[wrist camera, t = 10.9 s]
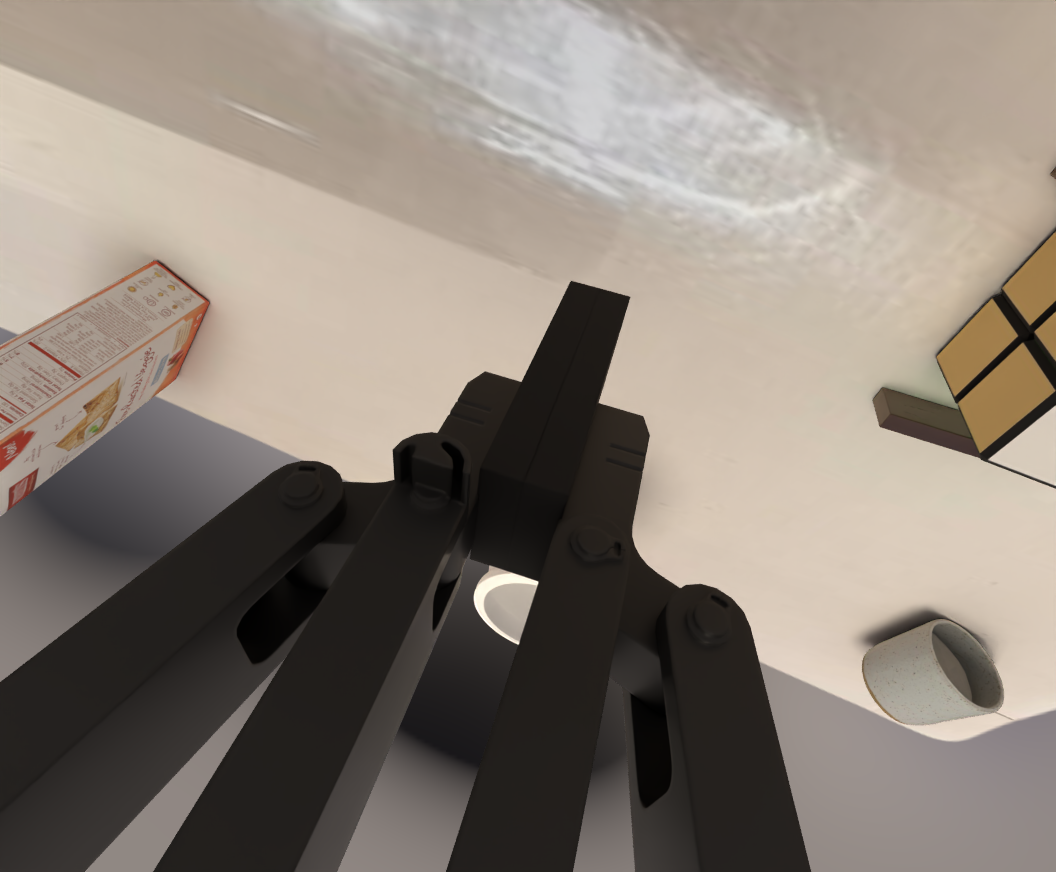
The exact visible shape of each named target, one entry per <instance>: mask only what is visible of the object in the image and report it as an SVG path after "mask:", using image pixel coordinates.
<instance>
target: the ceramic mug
mask: <svg viewBox="0 0 1056 872" xmlns="http://www.w3.org/2000/svg"><path fill="white" fill-rule="evenodd" d="M862 672H863V678H864V681H865V684H866V687H867V689H868V691H869V693H870V694H871V696H872V698H873V699H874V701H875V702H876V703H877V704H878V706H879V707H880V708H881V709H882V710H883V711H884V712H885V713H886V714H887V715H889V716H890V717H891V718H893V719H894V720H896V721H898V722H900V723H903V724H907V725H929V724H936V723H939V722H944V721H950V720H956V719H962V718H967V717H973V716H979V715H985V714H990V713H994V712H996V711H998V710H999V709H1000V707H1001V706H1002V704H1003V700H1004V689H1003V685H1002V681H1001V678H1000V676H999V673H998V671H997V669H996V667H995V665H994V663H993V661H992V660H991V658H990V657H989V655H988V654H987V653H986V651H985V650H984V648H983V647H982V646H981V645H980V644H979V642H978V641H977V640H976V639H975V638H974V637H973V636H972V635H971V634H969V633H968V632H967V631H966V630H965V629H963V628H962V627H960V626H959V625H957V624H955V623H953V622H951V621H949V620H944V619H937V620H933V621H931V622H928V623H926V624H924V625H922V626H919V627H917V628H914V629H912V630H909V631H907V632H905V633H903V634H900V635H898V636H896V637H893V638H891V639H888V640H886V641H883V642H881V643H879V644H877V645H875V646H874V647H872V648H871V649H870V650H869V651H868V652H867V653H866V654H865V656H864V658H863V661H862Z"/></svg>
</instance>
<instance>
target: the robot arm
mask: <svg viewBox="0 0 1056 872" xmlns="http://www.w3.org/2000/svg"><path fill="white" fill-rule="evenodd" d="M629 300H630V297H629V296H625V295H622V294H618V293H614V292H611V291H607V290H603V289H600V288H596V287H592V286H588V285H585V284H581V283H577V282H574V281H571V282H570V284H569V286H568V288H567V290H566V292H565V294H564V296H563V298H562V300H561V302H560V304H559V306H558V308H557V310H556V313H555V315H554V317H553V319H552V321H551V323H550V325H549V327H548V329H547V331H546V333H545V335H544V337H543V339H542V341H541V343H540V345H539V347H538V349H537V352H536V354H535V356H534V358H533V360H532V362H531V364H530V366H529V368H528V370H527V372H526V374H525V376H524V378H523V380H522V382H519V381H516V380H512V379H509V378H506V377H502V376H499V375H495V374H492V373H489V372H484V373H482V374H481V375H479V376H478V377H476V378H475V379H473V380H471V381H470V382H468V383H467V385H466V387H465V388H464V390H463V392H462V393H461V395H460V397H459V398H458V402H456V403H455V405H454V407H453V408H452V410H451V412H450V415H448V417H447V418H446V420H445V422H444V423H443V425H442V427H441V428H440V430H439V432H438V433H433V432H430V433H422V434H415V435H413V436H411V437H409V438H406V439H404V440H402V441H401V442H400V443H399V444H398V445H397V446H396V447H395V448H394V449H393V463H394V480H392V481H388V482H380V483H361V482H342V479H341V476H340V474H339V473H338V472H337V471H336V470H335V469H333V468H332V467H331V466H329V465H326V464H324V463H321V462H318V461H300V462H295V463H291V464H287V465H285V466H283V467H281V468H280V469H278V470H276V471H274V472H272V473H271V474H270V475H269V476H267V477H266V478H265V479H263V480H262V481H261V482H259V483H258V484H257V485H255V486H254V487H253V488H252V489H250V490H249V491H248V492H246V493H245V494H244V495H243V496H241V497H240V498H239V499H238V500H236V501H235V502H233V503H232V504H231V505H230V506H228V507H227V508H226V509H224V510H223V511H222V512H220V513H219V514H218V515H217V516H215V517H214V518H213V519H211V520H210V521H209V522H207V523H206V524H205V525H204V526H202V527H201V528H200V529H198V530H197V531H196V532H195V533H193V534H192V535H191V536H189V537H188V538H187V539H186V540H184V541H183V542H181V543H180V544H179V545H178V546H176V547H175V548H174V549H172V550H171V551H170V552H169V553H167V554H166V555H165V556H163V557H162V558H161V559H160V560H158V561H157V562H156V563H154V564H153V565H152V566H150V567H149V568H148V569H147V570H145V571H144V572H143V573H141V574H140V575H139V576H137V577H136V578H135V579H133V580H132V581H131V582H130V583H128V584H127V585H126V586H125V587H123V588H122V589H120V590H119V591H118V592H117V593H115V594H114V595H113V596H112V597H110V598H109V599H108V600H106V601H105V602H104V603H102V604H101V605H100V606H99V607H97V608H96V609H95V610H93V611H92V612H91V613H89V614H88V615H87V616H85V617H84V618H83V619H82V620H80V621H79V622H78V623H76V624H75V625H74V626H73V627H71V628H70V629H69V630H67V631H66V632H65V633H63V634H62V635H61V636H60V637H58V638H57V639H56V640H54V641H53V642H52V643H51V644H49V645H48V646H47V647H45V648H44V649H43V650H41V651H40V652H39V653H37V654H36V655H35V656H34V657H32V658H31V659H30V660H29V661H27V662H26V663H25V664H23V665H22V666H21V667H19V668H18V669H17V670H15V671H14V672H13V673H12V674H10V675H9V676H8V677H6V678H5V679H4V680H2V681H1V682H0V872H85V871H86V870H87V868H88V867H89V866H90V865H91V864H92V863H93V862H94V861H95V860H96V859H97V858H98V857H99V856H100V855H101V854H102V852H103V851H104V850H105V849H106V848H107V847H108V846H109V845H110V844H111V843H112V842H113V841H114V840H115V838H117V836H118V835H119V834H120V833H121V832H122V831H123V830H124V829H125V828H126V827H127V826H128V825H129V824H130V823H131V821H132V820H133V819H134V818H135V817H136V816H137V815H138V814H139V813H140V812H141V811H142V810H143V809H144V807H146V805H148V803H149V802H150V801H151V800H152V799H153V798H154V797H155V796H156V795H157V794H158V793H159V792H160V791H161V790H162V789H163V787H164V786H165V785H166V784H167V783H168V782H169V781H170V780H171V779H172V778H173V777H174V776H175V775H176V774H177V772H178V771H179V770H180V769H181V768H182V767H183V766H184V765H185V764H186V763H187V762H188V761H189V760H190V759H191V758H192V757H193V755H194V754H195V753H196V752H197V751H198V750H199V749H200V748H201V747H202V746H203V745H204V744H205V743H206V742H207V741H208V739H209V738H210V737H211V736H212V735H213V734H214V733H215V732H216V731H217V730H218V729H219V728H220V727H221V726H222V725H223V723H225V721H226V720H227V719H228V718H229V717H230V716H231V715H232V714H233V713H234V712H235V711H236V710H237V709H238V708H239V706H240V705H241V704H242V703H243V702H244V701H245V700H246V699H247V698H248V697H249V696H250V695H251V694H252V693H253V692H254V691H255V689H256V688H257V687H258V686H259V685H260V684H261V683H262V682H263V681H264V680H265V679H266V678H267V677H268V676H269V674H270V673H271V672H272V671H273V670H274V669H275V668H276V667H277V666H278V665H279V664H280V663H281V662H282V661H283V660H284V659H285V660H284V662H283V663H282V665H281V667H280V668H279V670H278V671H277V673H276V674H275V676H274V678H273V679H272V681H271V683H270V684H269V686H268V687H267V689H266V691H265V692H264V694H263V696H262V697H261V699H260V701H259V702H258V704H257V705H256V707H255V709H254V710H253V712H252V713H251V715H250V717H249V718H248V720H247V721H246V723H245V724H244V726H243V728H242V729H241V731H240V733H239V734H238V736H237V738H236V739H235V741H234V742H233V744H232V746H231V747H230V749H229V750H228V752H227V753H226V755H225V757H224V758H223V760H222V762H221V763H220V765H219V766H218V768H217V770H216V771H215V773H214V775H213V776H212V778H211V779H210V781H209V783H208V784H207V786H206V787H205V789H204V791H203V792H202V794H201V795H200V797H199V799H198V801H197V802H196V804H195V805H194V807H193V808H192V810H191V812H190V813H189V815H188V816H187V818H186V820H185V821H184V823H183V825H182V826H181V828H180V829H179V831H178V832H177V834H176V836H175V837H174V839H173V841H172V842H171V844H170V845H169V847H168V849H167V850H166V852H165V854H164V855H163V857H162V858H161V860H160V862H159V863H158V865H157V866H156V868H155V870H154V871H153V872H337V871H338V868H339V866H340V863H341V861H342V859H343V857H344V854H345V852H346V850H347V847H348V845H349V843H350V840H351V838H352V835H353V833H354V831H355V829H356V826H357V824H358V822H359V819H360V817H361V815H362V812H363V810H364V808H365V805H366V803H367V801H368V798H369V796H370V794H371V791H372V789H373V787H374V784H375V782H376V780H377V777H378V775H379V773H380V770H381V768H382V766H383V763H384V761H385V759H386V756H387V754H388V751H389V749H390V747H391V745H392V742H393V740H394V738H395V735H396V733H397V730H398V728H399V726H400V724H401V721H402V719H403V716H404V714H405V712H406V709H407V707H408V705H409V703H410V700H411V698H412V696H413V693H414V691H415V688H416V686H417V684H418V681H419V679H420V677H421V675H422V672H423V670H424V667H425V665H426V663H427V660H428V658H429V656H430V653H431V651H432V649H433V646H434V644H435V642H436V639H437V637H438V635H439V632H440V630H441V628H442V625H443V623H444V620H445V618H446V616H447V614H448V611H449V609H450V607H451V604H452V602H453V600H454V597H455V595H456V593H457V590H458V588H459V586H460V581H461V576H462V568H463V566H464V563H465V561H466V559H467V556H468V554H469V552H470V550H471V555H470V559H472V560H475V561H478V562H481V563H484V564H487V565H490V566H493V567H496V568H499V569H502V570H505V571H508V572H511V573H514V574H517V575H520V576H523V577H526V578H529V579H532V580H535V581H538V585H537V588H536V591H535V594H534V598H533V601H532V604H531V607H530V610H529V613H528V616H527V620H526V623H525V626H524V629H523V632H522V635H521V638H520V641H519V645H518V648H517V651H516V654H515V657H514V660H513V663H512V667H511V670H510V673H509V676H508V679H507V682H506V685H505V689H504V692H503V695H502V698H501V701H500V704H499V707H498V711H497V714H496V717H495V720H494V723H493V726H492V729H491V732H490V735H489V739H488V742H487V745H486V748H485V751H484V754H483V757H482V760H481V764H480V767H479V770H478V773H477V776H476V779H475V782H474V786H473V789H472V792H471V795H470V798H469V801H468V804H467V807H466V811H465V814H464V817H463V820H462V823H461V826H460V830H459V833H458V836H457V839H456V842H455V845H454V848H453V851H452V855H451V858H450V861H449V864H448V867H447V870H446V872H573V868H574V863H575V857H576V852H577V846H578V841H579V836H580V830H581V825H582V819H583V814H584V808H585V804H586V798H587V793H588V787H589V782H590V777H591V772H592V766H593V760H594V755H595V750H596V745H597V739H598V734H599V728H600V723H601V718H602V712H603V707H604V702H605V697H606V691H607V686H608V680H609V677H610V678H611V679H613V680H614V681H615V682H617V683H618V684H619V685H621V686H622V691H623V706H624V720H625V734H626V748H627V762H628V776H629V791H630V804H631V818H632V833H633V848H634V860H635V872H811V869H810V865H809V861H808V857H807V853H806V850H805V845H804V841H803V837H802V833H801V829H800V825H799V821H798V817H797V813H796V809H795V805H794V801H793V797H792V793H791V789H790V785H789V781H788V777H787V772H786V769H785V765H784V760H783V757H782V753H781V748H780V744H779V740H778V736H777V732H776V728H775V724H774V720H773V716H772V712H771V708H770V704H769V700H768V696H767V692H766V689H765V684H764V680H763V676H762V672H761V668H760V664H759V660H758V656H757V652H756V648H755V643H754V639H753V635H752V631H751V627H750V625H749V623H748V621H747V618H746V616H745V614H744V612H743V611H742V609H741V608H740V607H739V606H738V605H737V604H736V602H735V601H734V600H733V599H732V598H731V597H729V596H728V595H726V594H725V593H723V592H721V591H720V590H718V589H717V588H713V587H710V586H706V585H703V584H694V585H685V586H683V587H682V588H679V587H677V586H676V585H674V584H673V583H671V582H670V581H668V580H667V579H665V578H664V577H662V576H661V575H659V574H658V573H657V572H655V571H654V570H653V569H652V568H650V567H649V566H648V565H647V564H646V563H645V562H644V560H643V559H642V558H641V557H640V555H639V553H638V551H637V550H636V548H635V546H634V542H633V538H632V526H633V520H634V515H635V510H636V505H637V499H638V494H639V489H640V484H641V479H642V473H643V472H642V471H643V468H644V463H645V458H646V457H645V456H646V452H647V447H648V442H649V437H650V435H649V432H648V429H647V426H646V423H645V420H644V417H643V416H640V415H637V414H634V413H630V412H627V411H623V410H620V409H617V408H613V407H610V406H606V405H603V404H600V403H599V399H600V396H601V393H602V390H603V386H604V383H605V380H606V376H607V373H608V370H609V366H610V363H611V360H612V356H613V353H614V350H615V346H616V343H617V340H618V337H619V333H620V330H621V327H622V323H623V320H624V317H625V313H626V310H627V307H628V303H629ZM286 656H287V657H286Z"/></svg>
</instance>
